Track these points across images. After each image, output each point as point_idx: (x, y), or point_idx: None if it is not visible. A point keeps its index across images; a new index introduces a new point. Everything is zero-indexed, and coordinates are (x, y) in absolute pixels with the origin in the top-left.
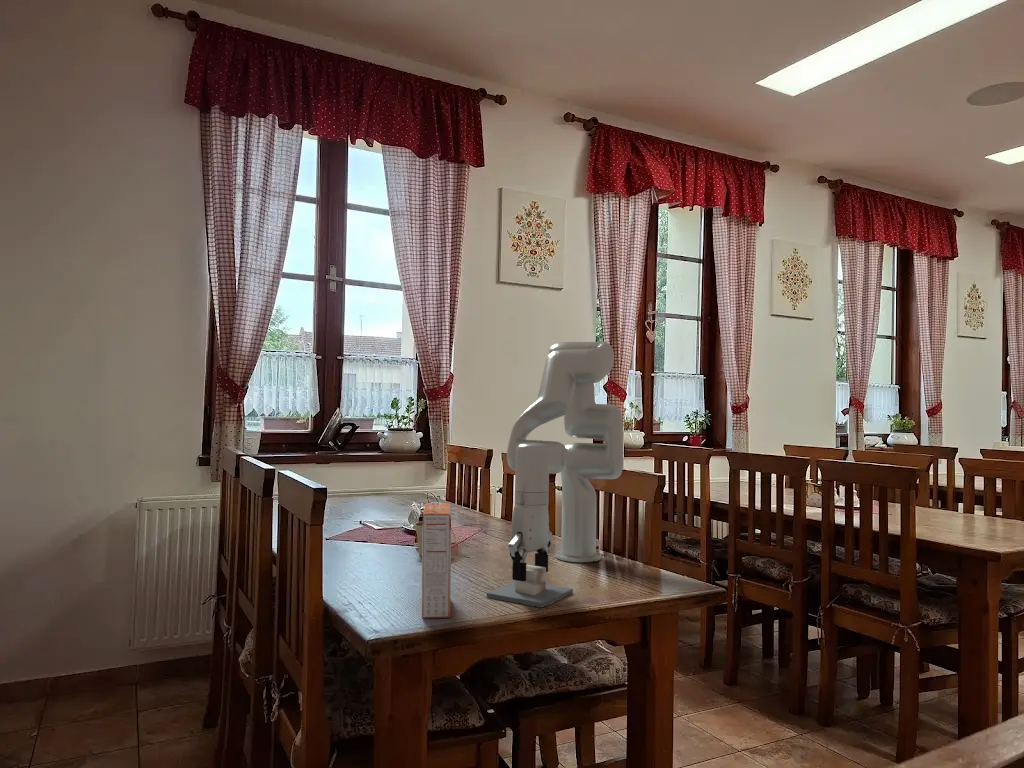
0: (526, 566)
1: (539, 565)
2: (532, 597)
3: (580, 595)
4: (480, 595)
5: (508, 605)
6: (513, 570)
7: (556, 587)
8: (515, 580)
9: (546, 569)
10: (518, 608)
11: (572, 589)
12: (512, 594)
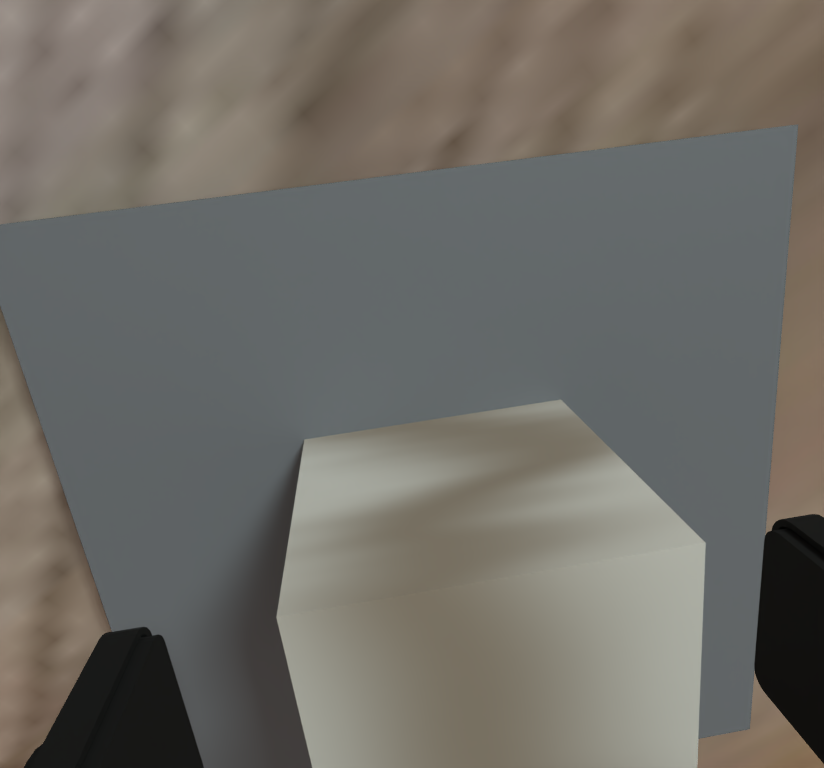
0: (568, 631)
1: (821, 654)
2: (258, 690)
3: (703, 760)
4: (4, 95)
5: (6, 581)
6: (52, 760)
7: (711, 621)
8: (297, 506)
9: (790, 705)
10: (19, 691)
11: (741, 725)
12: (183, 501)
